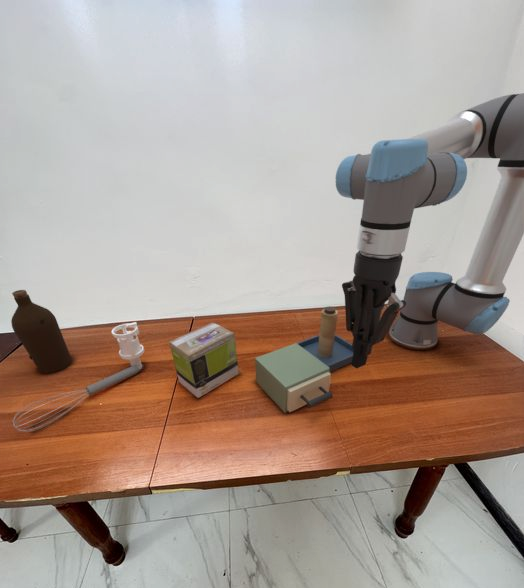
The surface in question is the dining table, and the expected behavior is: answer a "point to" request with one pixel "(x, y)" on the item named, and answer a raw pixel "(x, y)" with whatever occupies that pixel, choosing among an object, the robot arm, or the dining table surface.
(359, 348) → the robot arm
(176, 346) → the tea box
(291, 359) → the cabinet
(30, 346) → the olive oil
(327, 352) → the pepper mill
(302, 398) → the drawer
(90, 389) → the kitchen whisk
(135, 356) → the strainer
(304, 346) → the tray
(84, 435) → the dining table surface
